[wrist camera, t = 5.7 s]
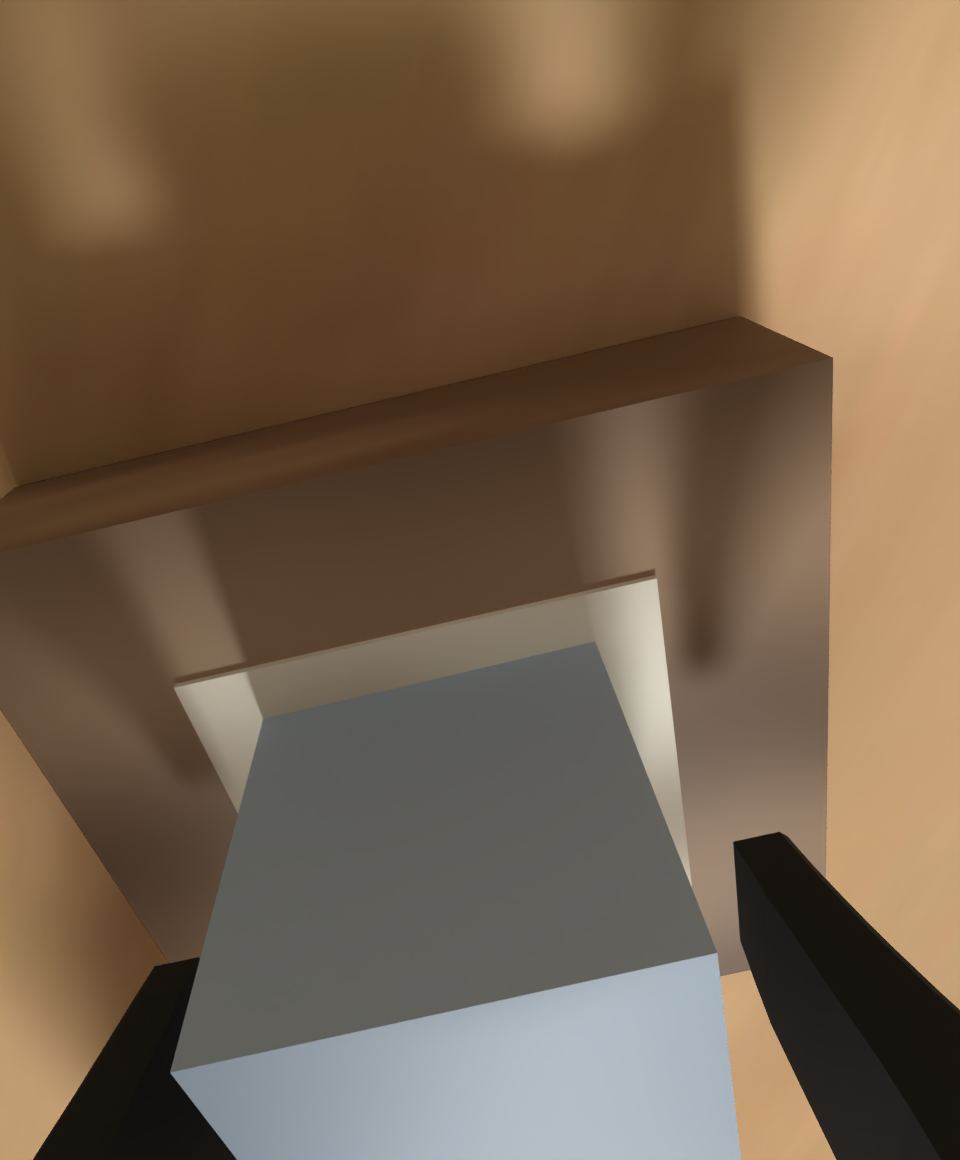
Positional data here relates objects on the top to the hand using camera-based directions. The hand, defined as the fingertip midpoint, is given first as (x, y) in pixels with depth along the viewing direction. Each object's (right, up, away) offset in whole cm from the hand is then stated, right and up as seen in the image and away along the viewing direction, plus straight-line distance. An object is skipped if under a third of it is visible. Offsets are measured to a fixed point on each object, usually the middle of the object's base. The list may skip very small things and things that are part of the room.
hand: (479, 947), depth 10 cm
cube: (0, +1, +2) cm, 3 cm away
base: (0, +3, +5) cm, 6 cm away
